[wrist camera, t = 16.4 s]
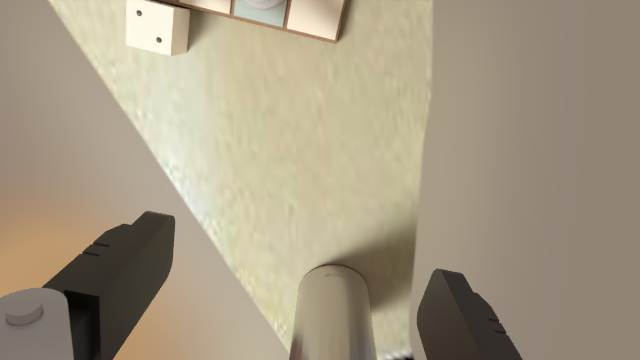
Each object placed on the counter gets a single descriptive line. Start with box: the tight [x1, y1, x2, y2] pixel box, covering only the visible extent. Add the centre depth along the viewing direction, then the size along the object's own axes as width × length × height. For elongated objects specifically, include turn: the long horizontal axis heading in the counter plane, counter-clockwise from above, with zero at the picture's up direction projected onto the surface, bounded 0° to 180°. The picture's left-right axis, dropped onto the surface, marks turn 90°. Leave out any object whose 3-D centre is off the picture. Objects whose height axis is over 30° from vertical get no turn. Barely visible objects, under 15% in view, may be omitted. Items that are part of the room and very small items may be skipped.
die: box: [126, 0, 190, 56], centre depth 33 cm, size 4×4×4 cm
